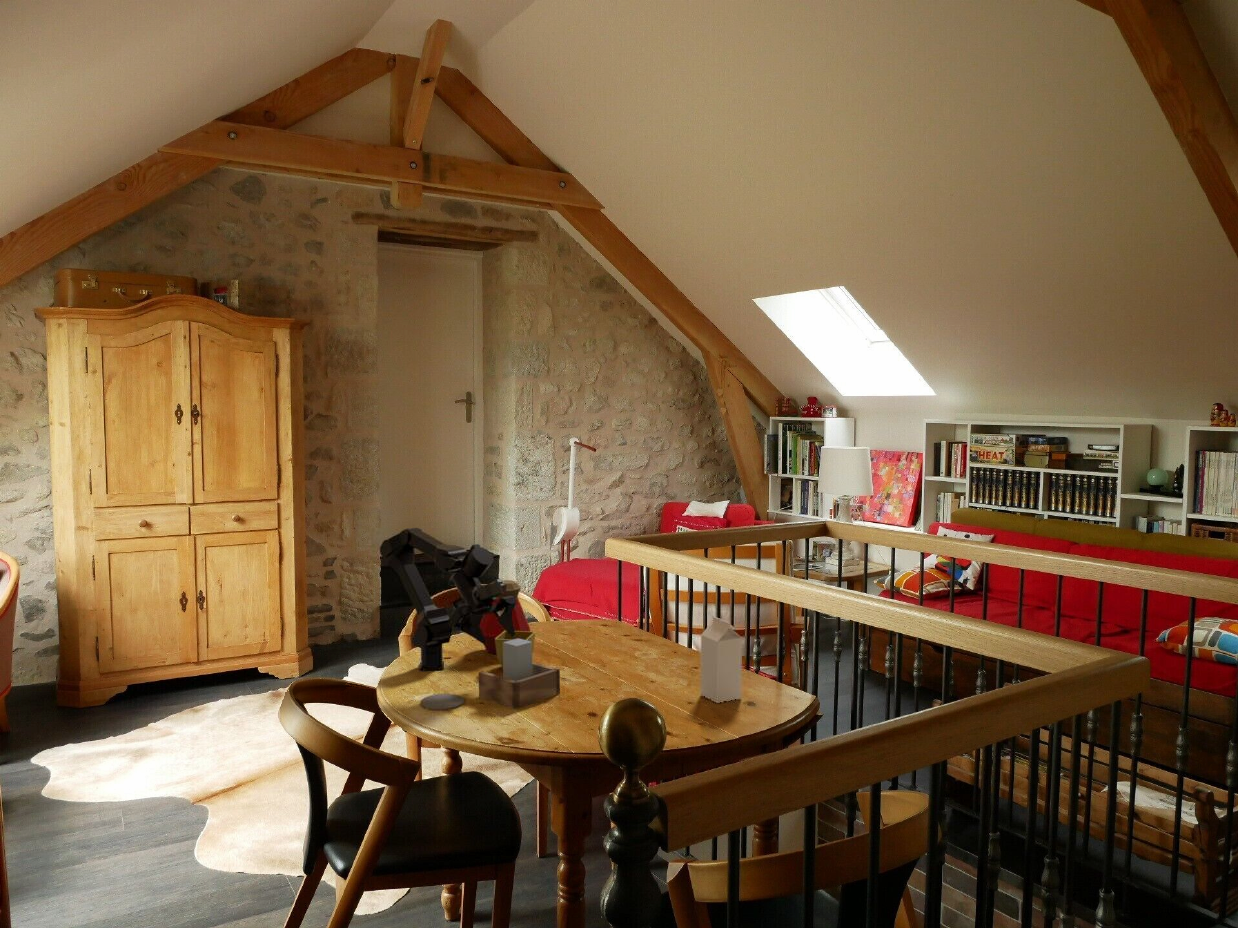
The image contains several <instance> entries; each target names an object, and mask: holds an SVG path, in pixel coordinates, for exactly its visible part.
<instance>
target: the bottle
mask: <svg viewBox="0 0 1238 928" xmlns="http://www.w3.org/2000/svg"><path fill="white" fill-rule="evenodd" d="M502 580H503V581H504V582H505V584H506V587H507V588H506V590H505V591H503V594H502V595H501V594H500V595H498V596H496V597H495V598H496V600H495V601H494V602H493V603H492V604H493V605H495V604H497V603H498V601H499V600H500V599H501V598H503V597H508V596H514V597H515V598H516V600H517V602H518V604H517V605H516V607H515V609H514V610H513V612H512V619H513V625H514V630H515V631H526V632H531V627H530V625H529V622H528V619H527V616H526V614H525V612H524V610H523V607H522V605H521V602H520V599H519V597H518V596H519V593H520V591H521V587H522V586H521V585H520V584H518V583H517V582H516V581H515V580H512V579H502ZM493 582H494V581H492V582H491V583H493ZM497 619H498V617H496V616H495V615H494V613H491V614H486V615H482V618H481V620H480V624H479V627H480V629H481V630H482V632H483V634H484V636H485V638H486V641H487V642H486V643H485V644H483V646H484V648H485V650H486V651H487V653H489V654H491V655H496V656H497V652H496V645H495V638H496V637H498V636H499V635H500V634H501V633H503V632H504V631H506V630H505V629H504V628H503V626H502V625H501V624H500V623H499V622H498V621H497Z"/></svg>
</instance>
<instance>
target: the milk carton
mask: <svg viewBox="0 0 1238 928" xmlns="http://www.w3.org/2000/svg"><path fill="white" fill-rule="evenodd" d="M734 629H735V627H734V626H733V625H731V622H729V621H727V620H724V619H721V618H718V617H716V616H712V622H711V623H710V624H709V625H708V626H707V627H706V629H705V630H704V631H703V632H702V633H701V635H700V637H701V639H700V695H701V696H702V697H704V696H705V698H706V699H707V700H710V699H711V700H710V701H712V702H713V701H714V703H715V702H716V704H720V702H721V703H725V702H724V701H726V702H730V701H731V700H732V701H737V700H741V699H742V675H743V673H742V671H743V668H742V667H743V664H742V662H743V661H742V660H743V637H742V636H741V635H740V634H738V633H737V632H736V631H735V630H734ZM735 699H736V700H735ZM732 701H731V702H732Z"/></svg>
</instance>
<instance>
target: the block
mask: <svg viewBox="0 0 1238 928" xmlns="http://www.w3.org/2000/svg"><path fill="white" fill-rule="evenodd" d="M532 662H533V653H532V642H531V641H527V640H523V639H519V638H518V639H514V640H510V641H506V642H503V668H502V677H504V678H507V679H510V680H514V681H518V680H521V679H525V678H528V677H531V676H532Z"/></svg>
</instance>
